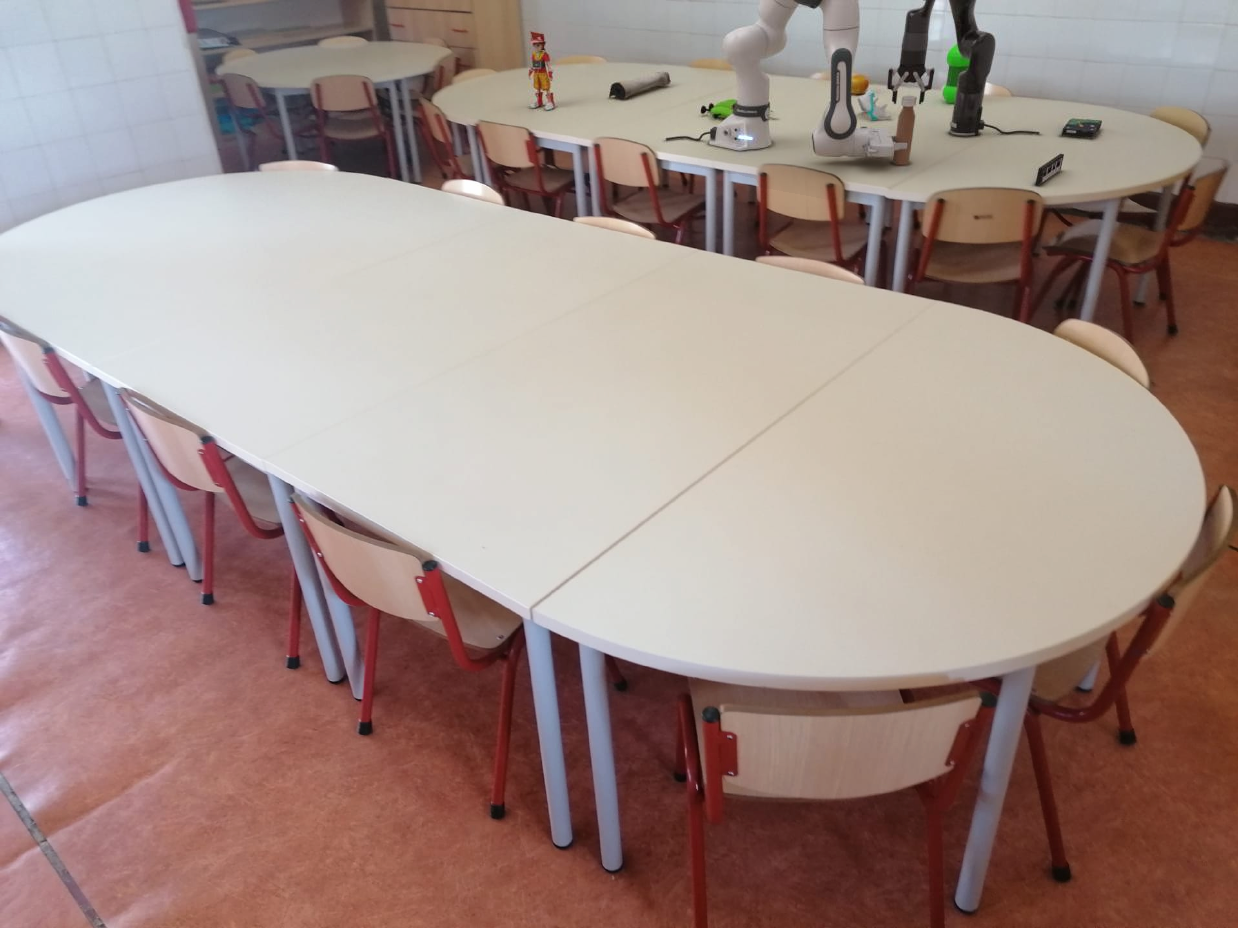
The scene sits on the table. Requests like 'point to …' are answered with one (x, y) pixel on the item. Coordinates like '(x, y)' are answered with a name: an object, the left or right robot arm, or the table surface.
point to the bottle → (904, 135)
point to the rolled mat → (638, 84)
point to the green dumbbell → (954, 73)
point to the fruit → (859, 84)
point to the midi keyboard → (1049, 169)
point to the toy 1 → (541, 71)
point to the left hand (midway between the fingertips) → (906, 142)
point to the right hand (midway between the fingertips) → (907, 103)
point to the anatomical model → (872, 106)
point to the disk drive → (1081, 128)
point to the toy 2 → (721, 109)
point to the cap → (908, 101)
